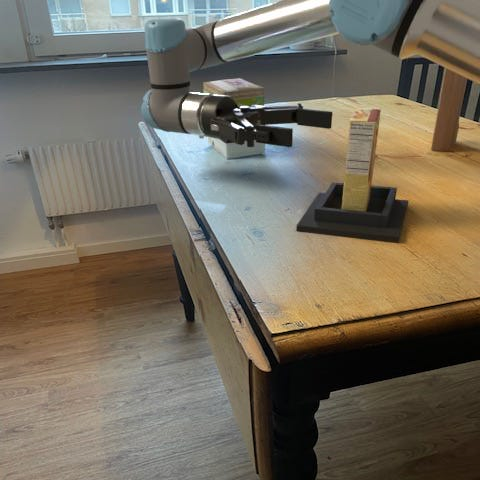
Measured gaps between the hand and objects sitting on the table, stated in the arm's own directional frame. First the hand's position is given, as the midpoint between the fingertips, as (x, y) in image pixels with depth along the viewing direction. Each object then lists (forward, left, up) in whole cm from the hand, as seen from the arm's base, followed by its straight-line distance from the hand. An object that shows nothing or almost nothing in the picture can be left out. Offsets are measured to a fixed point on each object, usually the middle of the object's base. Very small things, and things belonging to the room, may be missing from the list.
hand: (312, 128), depth 83 cm
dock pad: (-9, +4, -13) cm, 16 cm away
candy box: (-9, +2, -12) cm, 15 cm away
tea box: (+26, -31, -13) cm, 43 cm away
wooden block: (-22, -45, -13) cm, 51 cm away
